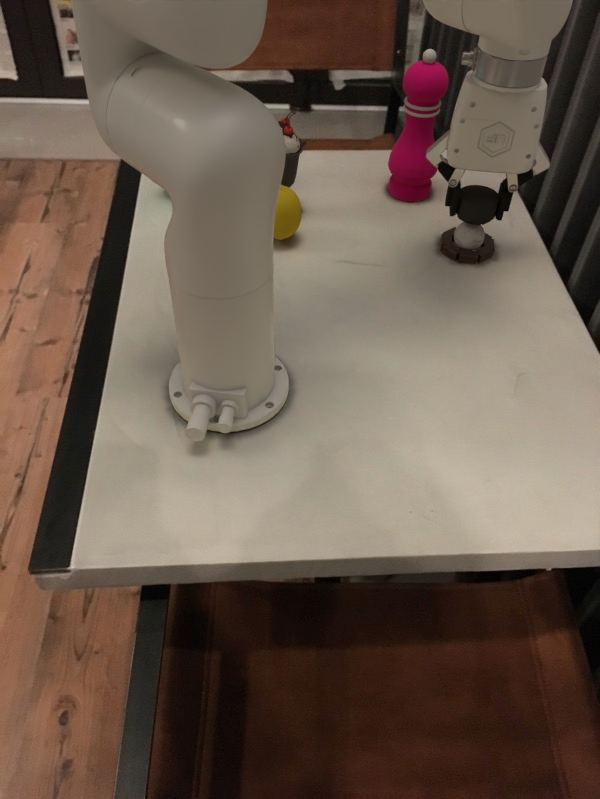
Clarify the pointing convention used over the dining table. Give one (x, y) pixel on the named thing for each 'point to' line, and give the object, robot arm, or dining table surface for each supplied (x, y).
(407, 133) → the pepper mill
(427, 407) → the dining table surface
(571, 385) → the dining table surface
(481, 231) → the golf ball
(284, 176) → the sundae
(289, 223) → the lemon
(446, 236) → the tee ring
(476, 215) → the puck
